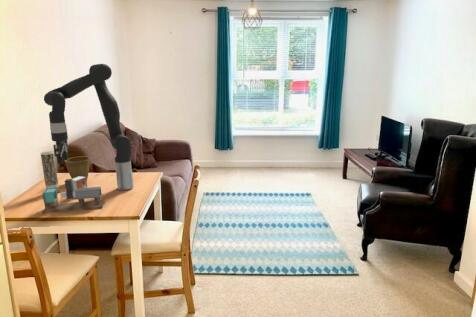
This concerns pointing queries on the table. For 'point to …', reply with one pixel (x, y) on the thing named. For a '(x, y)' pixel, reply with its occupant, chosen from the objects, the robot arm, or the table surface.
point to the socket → (50, 195)
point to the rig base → (73, 205)
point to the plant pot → (78, 166)
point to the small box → (79, 182)
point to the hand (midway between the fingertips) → (63, 161)
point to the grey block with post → (69, 190)
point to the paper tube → (49, 170)
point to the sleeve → (88, 193)
